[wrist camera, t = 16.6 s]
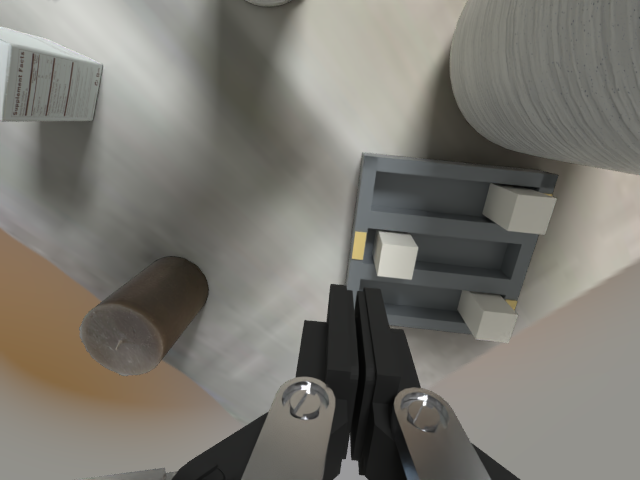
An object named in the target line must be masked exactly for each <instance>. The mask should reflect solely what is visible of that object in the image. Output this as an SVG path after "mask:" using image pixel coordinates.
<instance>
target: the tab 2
mask: <svg viewBox="0 0 640 480" xmlns="http://www.w3.org/2000/svg"><path fill="white" fill-rule="evenodd" d="M556 200H557V198H555V197H552V196H549V195H546V194H543V193H541V192H538V191H535V190H532V189H530V188H527V187H524V186H516V185H506V184H497V183H490V186H489V190H488V194H487V198H486V201H485V205H484V209H483V213H482V214H483V215H484V216H486V217H487V218H489V219H490V220H492V221H493V222H495V223H496V224H498V225H499V226H501V227H502V228H504V229H505V230H507V231H514V232H523V233H533V234H542V235H545V233H546V230H547V227H548V224H549V221H550V218H551V215H552V212H553V209H554V206H555V203H556Z"/></svg>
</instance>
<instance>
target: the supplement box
mask: <svg viewBox="0 0 640 480" xmlns="http://www.w3.org/2000/svg"><path fill="white" fill-rule="evenodd" d="M102 67H103V65H102V64H101V63H99V62H97V61H95V60H93V59H91V58H89V57H87V56H84V55H82V54H80V53H78V52H76V51H73V50H71V49H69V48H67V47H64V46H62V45H60V44H57V43H55V42H53V41H51V40H48V39H46V38H42V37H38V36H34V35H31V34H27V33H23V32H19V31H16V30H12V29H8V28H5V27H1V26H0V121H2V122H5V121H16V122H17V121H92V120H93V116H94V111H95V106H96V101H97V95H98V90H99V84H100V79H101V73H102Z"/></svg>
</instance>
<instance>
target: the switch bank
mask: <svg viewBox="0 0 640 480" xmlns="http://www.w3.org/2000/svg"><path fill="white" fill-rule="evenodd" d="M557 178H558V175H556V174H552V173H548V172H544V171H540V170H532V169H522V168H512V167H502V166H492V165H482V164H472V163H462V162H452V161H442V160H432V159H422V158H412V157H402V156H392V155H382V154H372V153H362V161H361V169H360V176H359V184H358V192H357V199H356V207H355V215H354V222H353V230H352V238H351V245H350V253H349V261H348V268H347V276H346V284H345V285H346V286H347V290H353V301H354V309H355V302H356V295H357V291H363V288H364V287H367V288H378V289H381V293H382V297H383V301H384V306H385V310H386V314H387V318H388V323H389V325H394V326H402V327H411V328H420V329H429V330H437V331H446V332H455V333H464V334H472V333H471V331H470V330H469V328H468V326H467V325H466V323H465V321H464V320H463V318H462V316H461V315H460V313H459V311H458V310H457V308H458V304H459V301H460V297H461V293H462V290H465V291H474V292H483V293H492V294H500V295H501V297H502V298H503V299H504V300H505V301H506V302H507V303H508V304H509V305H510V306H511V308H512V309H513V310H515V307H516V304H517V300H518V297H519V294H520V291H521V288H522V285H523V282H524V279H525V276H526V273H527V269H528V266H529V263H530V260H531V257H532V254H533V251H534V248H535V245H536V242H537V239H538V236H539V234H533V233H523V232H514V231H507V230H505V229H504V228H502V227H501V226H499V225H498V224H496V223H495V222H493V221H492V220H490V219H489V218H487V217H486V216H484V215H483V214H482V213H483V209H484V205H485V201H486V198H487V194H488V190H489V186H490V183H497V184H506V185H516V186H524V187H527V188H530V189H532V190H535V191H538V192H541V193H543V194H546V195H549V196H552V195H553V194H552V193H553V190H554V187H555V184H556V181H557ZM376 229H382V230H391V231H400V232H409V233H410V235H411V236H412V238H413V240H414V241H415V243H416V245H417V246H418V252H417V257H416V262H415V266H414V271H413V276H412V280H410V279H400V278H391V277H382V276H377V272H376V268H375V263H374V259H373V255H372V252H373V246H374V240H375V233H376ZM472 335H473V334H472Z"/></svg>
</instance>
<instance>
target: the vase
mask: <svg viewBox="0 0 640 480" xmlns="http://www.w3.org/2000/svg"><path fill="white" fill-rule="evenodd" d="M450 79H451V85H452V90H453V94H454V97H455V99H456V102H457V105H458V107H459V109H460V111H461V112H462V114H463V116H464V117H465V119H466V120H467V121H468V123H469V124H470V125H471V126H472V127H473V128H474V129H475V130H476V131H477V132H478V133H479V134H481V135H482V136H484V137H485V138H486V139H488V140H489V141H491V142H493V143H495V144H497V145H499V146H502V147H504V148H506V149H509V150H513V151H516V152H520V153H525V154H529V155H533V156H538V157H543V158H548V159H553V160H558V161H563V162H568V163H574V164H579V165H585V166H590V167H596V168H601V169H607V170H613V171H618V172H624V173H630V174H636V175H640V0H468V1H467V3H466V5H465V7H464V9H463V11H462V13H461V15H460V17H459V20H458V23H457V26H456V29H455V33H454V36H453V39H452V46H451V52H450Z"/></svg>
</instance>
